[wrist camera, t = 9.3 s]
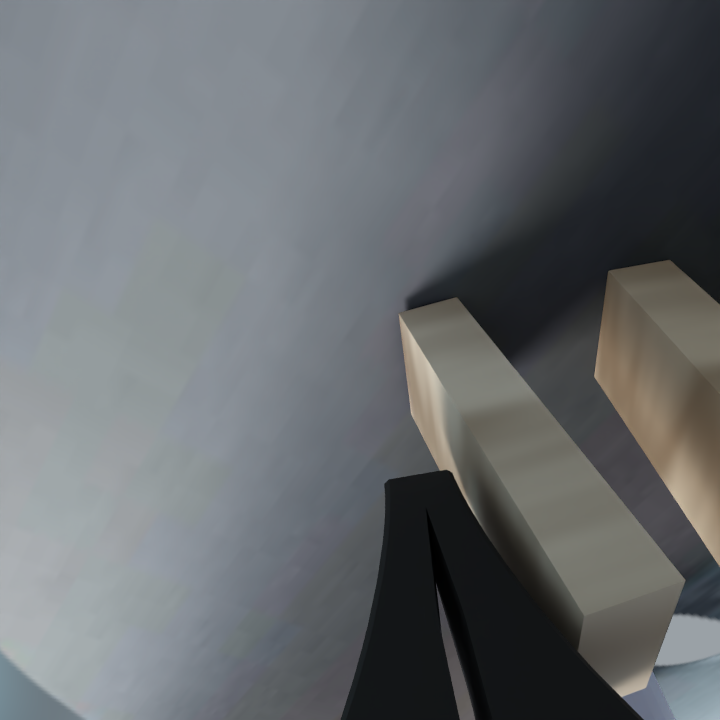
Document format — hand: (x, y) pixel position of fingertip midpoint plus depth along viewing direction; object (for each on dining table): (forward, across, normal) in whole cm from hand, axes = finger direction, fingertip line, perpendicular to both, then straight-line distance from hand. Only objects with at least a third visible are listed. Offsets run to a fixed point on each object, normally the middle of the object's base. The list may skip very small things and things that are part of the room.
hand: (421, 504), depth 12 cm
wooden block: (+5, -1, 0) cm, 5 cm away
